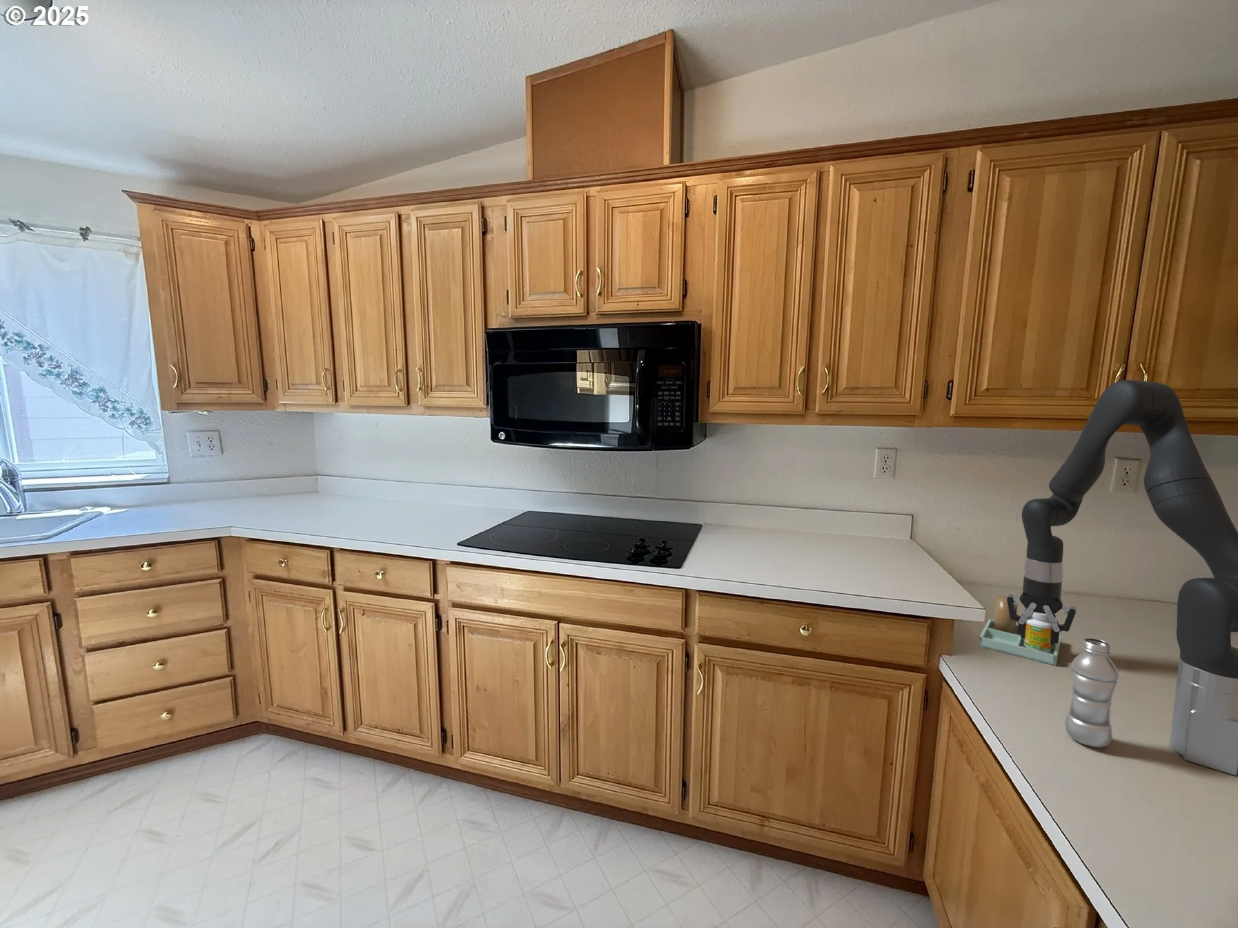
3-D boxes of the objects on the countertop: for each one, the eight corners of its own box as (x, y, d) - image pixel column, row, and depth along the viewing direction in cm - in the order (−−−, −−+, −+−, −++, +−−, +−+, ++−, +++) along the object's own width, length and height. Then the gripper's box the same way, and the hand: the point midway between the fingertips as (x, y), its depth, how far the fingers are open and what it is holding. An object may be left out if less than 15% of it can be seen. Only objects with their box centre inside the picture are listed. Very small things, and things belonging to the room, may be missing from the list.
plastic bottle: (1063, 726, 104) (1071, 631, 102) (1109, 739, 100) (1119, 640, 98) (1064, 743, 99) (1073, 643, 97) (1113, 757, 95) (1123, 653, 93)
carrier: (1055, 665, 128) (1056, 656, 127) (978, 646, 138) (979, 637, 138) (1060, 643, 139) (1061, 634, 139) (988, 626, 150) (989, 618, 150)
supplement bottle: (1026, 650, 132) (1029, 613, 131) (1021, 641, 137) (1024, 605, 136) (1053, 654, 130) (1056, 617, 128) (1047, 645, 134) (1050, 609, 133)
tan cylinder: (1014, 639, 141) (1016, 604, 140) (992, 634, 144) (994, 599, 143) (1016, 633, 144) (1018, 599, 143) (995, 628, 147) (997, 594, 146)
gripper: (1005, 574, 133) (1000, 637, 135) (1080, 586, 123) (1074, 654, 125) (1009, 567, 139) (1005, 628, 141) (1081, 578, 129) (1075, 644, 131)
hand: (1037, 640), depth 133 cm, fingers closed on supplement bottle, 5 cm apart
